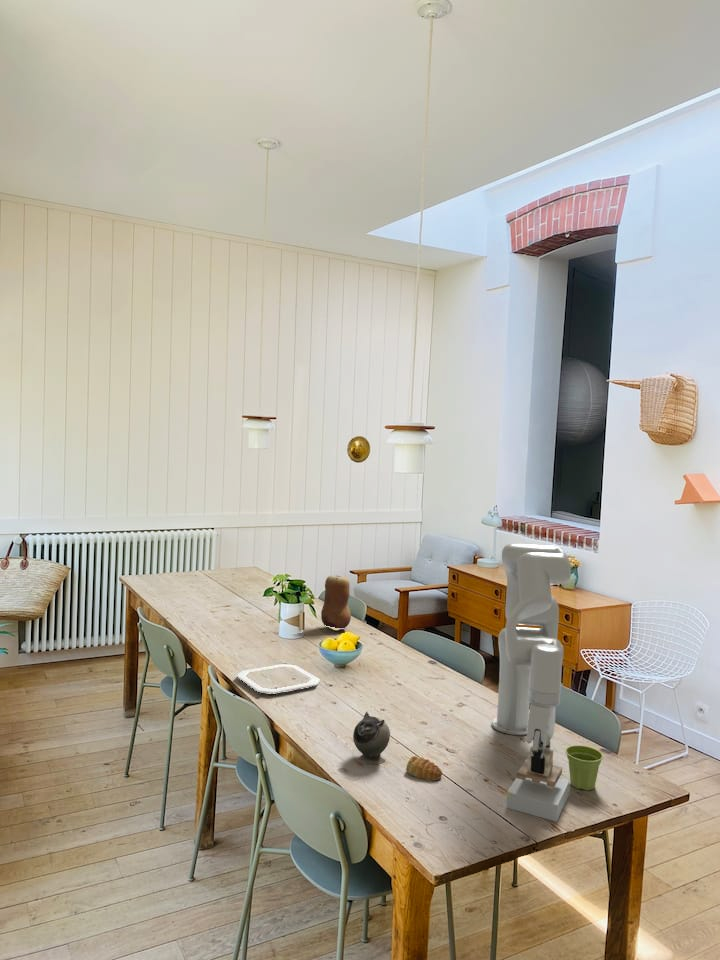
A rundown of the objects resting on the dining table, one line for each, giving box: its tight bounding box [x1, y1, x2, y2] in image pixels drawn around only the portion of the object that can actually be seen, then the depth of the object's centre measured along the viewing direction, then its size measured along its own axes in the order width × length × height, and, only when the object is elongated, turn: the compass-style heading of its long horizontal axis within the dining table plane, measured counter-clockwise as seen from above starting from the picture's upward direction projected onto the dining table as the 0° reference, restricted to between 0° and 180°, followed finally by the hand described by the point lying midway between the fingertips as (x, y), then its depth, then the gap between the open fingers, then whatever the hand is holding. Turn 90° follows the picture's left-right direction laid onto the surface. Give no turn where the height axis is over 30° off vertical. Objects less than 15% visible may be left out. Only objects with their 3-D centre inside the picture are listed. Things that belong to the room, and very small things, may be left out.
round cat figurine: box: [352, 711, 391, 765], centre depth 196 cm, size 10×12×10 cm
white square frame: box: [236, 663, 321, 694], centre depth 253 cm, size 25×25×2 cm
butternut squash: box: [320, 574, 352, 629], centre depth 324 cm, size 14×13×25 cm
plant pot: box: [564, 744, 604, 791], centre depth 186 cm, size 9×9×9 cm
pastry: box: [405, 755, 443, 781], centre depth 188 cm, size 9×7×4 cm
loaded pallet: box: [516, 745, 563, 788], centre depth 176 cm, size 9×9×6 cm
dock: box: [506, 777, 570, 823], centre depth 176 cm, size 14×12×4 cm
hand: (540, 767), depth 176 cm, fingers closed on loaded pallet, 5 cm apart
